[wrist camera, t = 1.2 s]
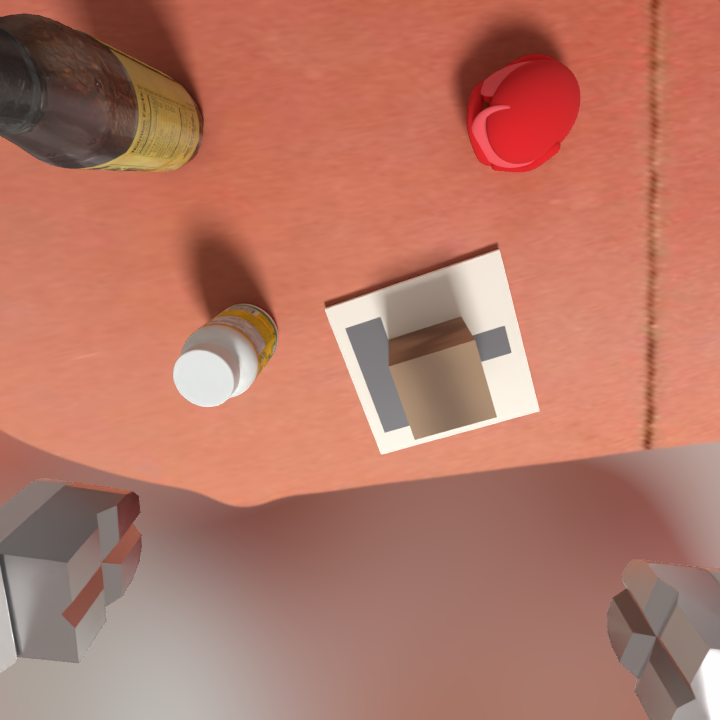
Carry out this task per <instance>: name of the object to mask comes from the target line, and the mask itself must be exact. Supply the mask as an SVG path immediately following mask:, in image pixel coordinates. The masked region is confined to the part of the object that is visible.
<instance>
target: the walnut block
mask: <svg viewBox="0 0 720 720" xmlns="http://www.w3.org/2000/svg"><path fill="white" fill-rule="evenodd" d="M388 351H389V369H390V372H391V375H392V378H393V380H394V383H395V386H396V389H397V392H398V394H399V397H400V400H401V403H402V406H403V408H404V411H405V414H406V417H407V420H408V422H409V425H410V428H411V431H412V434H413V436H414V439H415V440H417V439H420V438H424V437H427V436H431V435H435V434H438V433H442V432H445V431H449V430H453V429H456V428H460V427H464V426H467V425H471V424H474V423H478V422H482V421H485V420H489V419H492V418H496V417H497V415H496V412H495V408H494V405H493V401H492V398H491V394H490V391H489V387H488V384H487V380H486V377H485V373H484V370H483V366H482V363H481V359H480V356H479V352H478V348H477V345H476V341H475V339H474V337H473V336H472V334H471V332H470V330H469V329H468V327H467V325H466V324H465V322H464V320H463V319H462V317H458V318H455V319H451V320H448V321H445V322H442V323H439V324H436V325H433V326H430V327H426V328H423V329H420V330H417V331H414V332H411V333H408V334H404V335H401V336H398V337H395V338H392V339H389V340H388Z"/></svg>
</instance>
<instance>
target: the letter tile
mask: <svg viewBox="0 0 720 720" xmlns="http://www.w3.org/2000/svg"><path fill="white" fill-rule="evenodd" d="M325 312H326V314H327V317H328V319H329V322H330V324H331V327H332V330H333V332H334V335H335V337H336V340H337V342H338V345H339V348H340V350H341V353H342V355H343V358H344V360H345V363H346V366H347V368H348V371H349V373H350V376H351V378H352V381H353V383H354V386H355V389H356V391H357V394H358V396H359V399H360V401H361V404H362V407H363V409H364V412H365V414H366V417H367V419H368V422H369V424H370V427H371V430H372V432H373V435H374V437H375V440H376V442H377V445H378V448H379V450H380V453H381V455H382V454H385V453H389V452H393V451H396V450H400V449H404V448H407V447H411V446H414V445H418V444H422V443H425V442H429V441H433V440H436V439H440V438H444V437H447V436H451V435H454V434H458V433H462V432H465V431H469V430H473V429H476V428H480V427H484V426H487V425H491V424H495V423H498V422H502V421H505V420H509V419H513V418H516V417H520V416H524V415H527V414H531V413H535V412H538V411H539V407H538V403H537V399H536V395H535V391H534V386H533V382H532V378H531V374H530V370H529V366H528V362H527V358H526V354H525V350H524V346H523V342H522V338H521V334H520V330H519V326H518V322H517V318H516V314H515V310H514V306H513V302H512V298H511V294H510V290H509V286H508V282H507V278H506V274H505V269H504V265H503V261H502V257H501V253H500V250H499V249H496V250H493V251H490V252H487V253H484V254H482V255H479V256H476V257H473V258H470V259H467V260H464V261H461V262H458V263H455V264H452V265H449V266H446V267H443V268H440V269H437V270H435V271H432V272H429V273H426V274H423V275H420V276H417V277H414V278H411V279H408V280H405V281H402V282H399V283H396V284H393V285H390V286H388V287H385V288H382V289H379V290H376V291H373V292H370V293H367V294H364V295H361V296H358V297H355V298H352V299H349V300H346V301H343V302H341V303H338V304H335V305H332V306H329V307H326V308H325ZM458 317H462V319H463V320H464V322H465V324H466V325H467V327H468V329H469V330H470V332H471V334H472V336H473V337H474V339H475V341H476V345H477V348H478V352H479V356H480V359H481V363H482V366H483V370H484V373H485V377H486V380H487V384H488V387H489V391H490V394H491V398H492V401H493V405H494V408H495V412H496V415H497V417H496V418H492V419H489V420H485V421H482V422H478V423H474V424H471V425H467V426H464V427H460V428H456V429H453V430H449V431H445V432H442V433H438V434H435V435H431V436H427V437H424V438H420V439H417V440H415V439H414V436H413V434H412V431H411V428H410V425H409V422H408V420H407V417H406V414H405V411H404V408H403V406H402V403H401V400H400V397H399V394H398V392H397V389H396V386H395V383H394V380H393V378H392V375H391V372H390V369H389V351H388V340H389V339H392V338H395V337H398V336H401V335H404V334H408V333H411V332H414V331H417V330H420V329H423V328H426V327H430V326H433V325H436V324H439V323H442V322H445V321H448V320H451V319H455V318H458Z"/></svg>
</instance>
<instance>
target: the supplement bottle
mask: <svg viewBox="0 0 720 720" xmlns="http://www.w3.org/2000/svg"><path fill="white" fill-rule="evenodd" d="M277 342H278V330H277V327H276V324H275V322H274V321H273V319H272V318H271V317H270V315H269V314H268V313H267V312H265V311H264V310H263V309H261V308H259V307H257V306H254V305H251V304H236V305H233V306H230V307H228V308H227V309H225V310H224V311H222V312H221V313H220V314H218V315H217V316H216V317H214V318H213V319H212V320H210V321H209V322H207V323H206V324H205V325H203V326H202V327H200V328H199V329H198V330H196V331H195V332H194V333H192V334H191V335H190V336H189V338H188V339H187V340H186V342H185V344H184V346H183V349H182V353H181V356H180V357H179V358H178V359H177V361H176V363H175V365H174V369H173V379H174V383H175V385H176V387H177V389H178V391H179V392H180V394H181V395H182V396H183V397H184V398H186V399H187V400H188V401H190V402H192V403H193V404H196V405H199V406H203V407H213V406H217V405H220V404H222V403H223V402H225V401H226V400H227V399H228V398H231V397H235V396H237V395H239V394H241V393H243V392H244V391H246V390H247V389H248V388H249V387H250V386H251V385H252V383H253V382H254V381H255V379H256V378H257V376H258V375H259V373H260V372H261V371H262V369H263V368H264V367H265V365H266V363H267V362H268V361H269V359H270V358H271V357H272V355H273V353H274V352H275V349H276V346H277Z"/></svg>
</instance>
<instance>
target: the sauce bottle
mask: <svg viewBox="0 0 720 720" xmlns="http://www.w3.org/2000/svg"><path fill="white" fill-rule="evenodd" d="M202 135H203V119H202V116H201V114H200V111H199V109H198V106H197V105H196V103H195V102H194V100H193V99H192V97H191V96H190V94H189V93H188V92H187V91H186V89H185V88H184V87H183V86H182V85H181V84H179V83H178V82H176V81H174V80H173V78H171V77H170V76H168V75H166V74H165V73H163V72H161V71H159V70H157V69H155V68H153V67H151V66H149V65H148V64H145V63H143V62H141V61H140V60H138V59H136V58H134V57H131V56H130V55H128V54H126V53H124V52H122V51H120V50H118V49H116V48H114V47H112V46H110V45H108V44H106V43H104V42H102V41H100V40H98V39H96V38H94V37H92V36H90V35H88V34H86V33H83V32H81V31H78V30H74V29H72V28H70V27H68V26H65V25H63V24H61V23H60V22H58V21H54V20H52V19H50V18H46V17H43V16H40V15H32V14H17V15H8V16H4V17H0V136H2V137H3V138H5V139H7V140H9V141H10V142H12V143H14V144H15V145H17V146H19V147H20V148H22V149H23V150H24V151H26V152H27V153H29V154H30V155H32V156H34V157H35V158H37V159H38V160H41V161H43V162H45V163H47V164H50V165H54V166H57V167H62V168H70V169H96V170H114V171H143V172H167V171H172V170H175V169H177V168H179V167H181V166H184V165H185V164H187V163H188V162H190V161H191V160H192V159H193V158H194V157H195V156H196V155H197V153H198V150H199V148H200V145H201V141H202Z"/></svg>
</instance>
